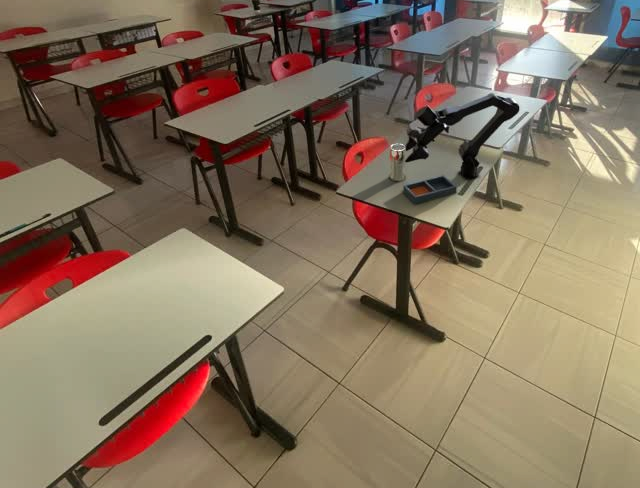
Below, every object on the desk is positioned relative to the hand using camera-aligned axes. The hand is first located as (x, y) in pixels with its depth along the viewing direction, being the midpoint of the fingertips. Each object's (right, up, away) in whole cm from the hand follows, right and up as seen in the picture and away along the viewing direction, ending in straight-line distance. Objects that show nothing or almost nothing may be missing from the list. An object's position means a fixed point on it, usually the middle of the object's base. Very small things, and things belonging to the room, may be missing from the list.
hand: (404, 156), depth 177 cm
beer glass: (-3, -9, +5) cm, 11 cm away
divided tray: (+10, -15, -5) cm, 19 cm away
